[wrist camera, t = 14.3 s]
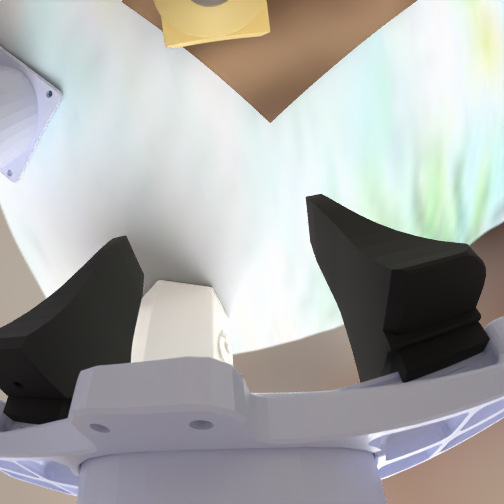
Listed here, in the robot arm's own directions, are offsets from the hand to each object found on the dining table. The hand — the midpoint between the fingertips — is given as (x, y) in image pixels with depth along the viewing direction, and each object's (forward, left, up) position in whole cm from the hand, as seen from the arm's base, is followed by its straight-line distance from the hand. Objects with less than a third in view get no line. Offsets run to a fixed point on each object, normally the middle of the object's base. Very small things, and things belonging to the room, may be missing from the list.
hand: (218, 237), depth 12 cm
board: (-6, +11, -10) cm, 16 cm away
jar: (+7, -13, -10) cm, 18 cm away
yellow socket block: (-7, +7, -8) cm, 13 cm away
